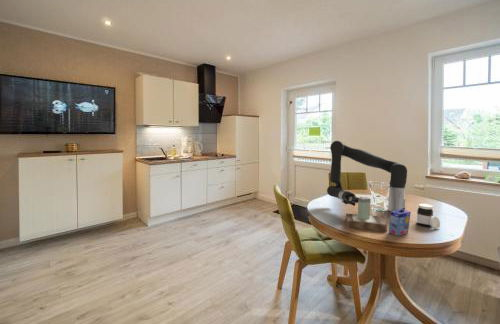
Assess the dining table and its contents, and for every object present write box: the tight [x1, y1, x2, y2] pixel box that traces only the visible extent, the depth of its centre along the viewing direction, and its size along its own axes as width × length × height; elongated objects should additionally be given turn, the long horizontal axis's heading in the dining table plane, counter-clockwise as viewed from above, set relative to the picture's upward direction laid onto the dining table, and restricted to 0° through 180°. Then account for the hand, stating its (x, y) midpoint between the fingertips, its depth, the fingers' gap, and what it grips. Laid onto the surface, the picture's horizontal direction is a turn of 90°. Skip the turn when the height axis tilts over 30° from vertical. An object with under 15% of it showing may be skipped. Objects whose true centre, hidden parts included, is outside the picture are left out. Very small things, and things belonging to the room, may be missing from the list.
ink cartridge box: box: [388, 207, 411, 237], centre depth 135 cm, size 10×6×14 cm, turn 117°
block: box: [357, 196, 371, 219], centre depth 147 cm, size 5×4×12 cm
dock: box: [345, 212, 388, 232], centre depth 147 cm, size 20×14×4 cm
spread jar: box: [416, 203, 441, 230], centre depth 146 cm, size 12×11×12 cm
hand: (361, 203), depth 149 cm, fingers open, 8 cm apart
